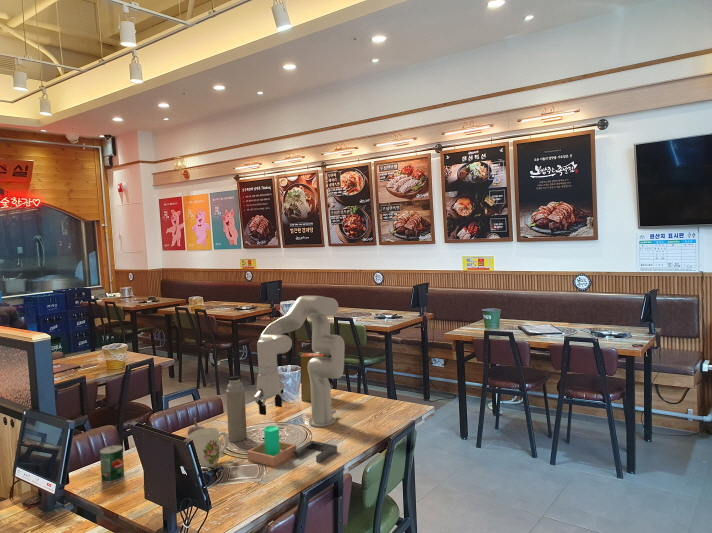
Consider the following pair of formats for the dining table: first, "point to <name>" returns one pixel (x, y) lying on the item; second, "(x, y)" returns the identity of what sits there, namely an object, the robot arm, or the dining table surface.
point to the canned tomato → (112, 463)
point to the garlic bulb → (194, 427)
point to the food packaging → (306, 374)
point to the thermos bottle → (236, 409)
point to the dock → (326, 448)
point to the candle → (271, 440)
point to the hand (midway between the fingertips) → (270, 410)
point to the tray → (260, 456)
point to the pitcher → (208, 445)
